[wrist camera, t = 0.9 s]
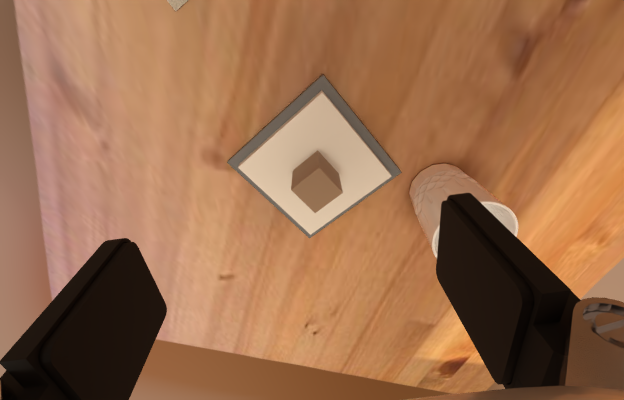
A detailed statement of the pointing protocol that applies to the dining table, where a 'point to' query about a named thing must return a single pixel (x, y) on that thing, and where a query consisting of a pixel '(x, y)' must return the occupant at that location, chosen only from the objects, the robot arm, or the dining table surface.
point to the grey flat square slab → (293, 109)
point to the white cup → (437, 187)
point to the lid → (315, 165)
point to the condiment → (176, 3)
